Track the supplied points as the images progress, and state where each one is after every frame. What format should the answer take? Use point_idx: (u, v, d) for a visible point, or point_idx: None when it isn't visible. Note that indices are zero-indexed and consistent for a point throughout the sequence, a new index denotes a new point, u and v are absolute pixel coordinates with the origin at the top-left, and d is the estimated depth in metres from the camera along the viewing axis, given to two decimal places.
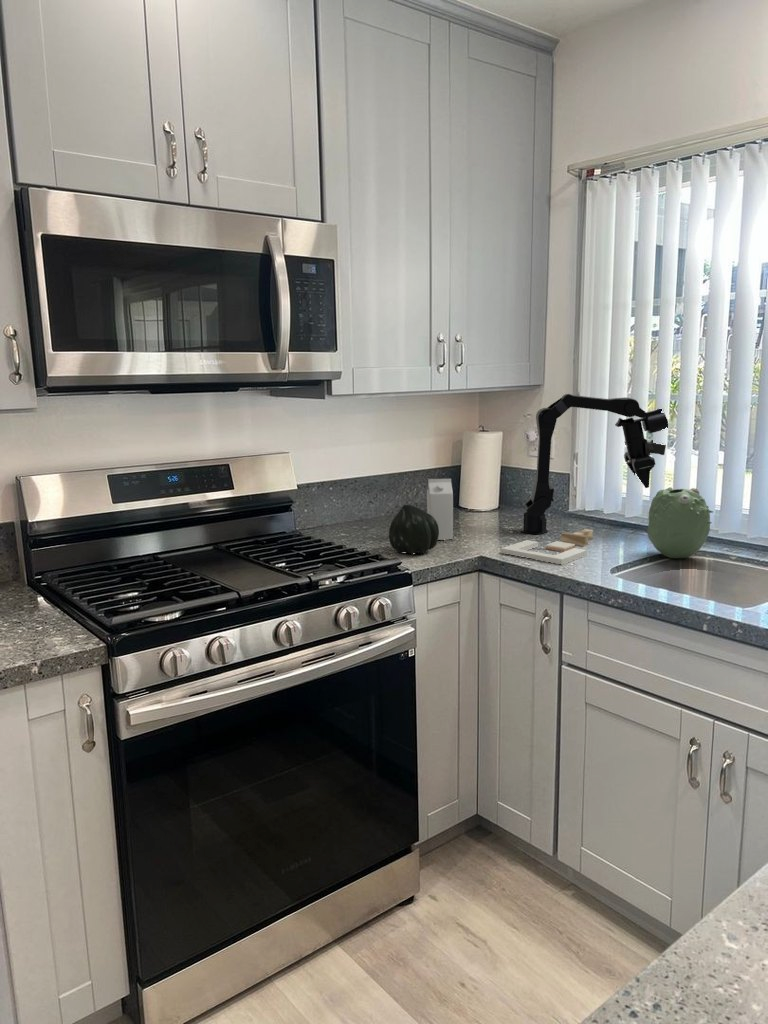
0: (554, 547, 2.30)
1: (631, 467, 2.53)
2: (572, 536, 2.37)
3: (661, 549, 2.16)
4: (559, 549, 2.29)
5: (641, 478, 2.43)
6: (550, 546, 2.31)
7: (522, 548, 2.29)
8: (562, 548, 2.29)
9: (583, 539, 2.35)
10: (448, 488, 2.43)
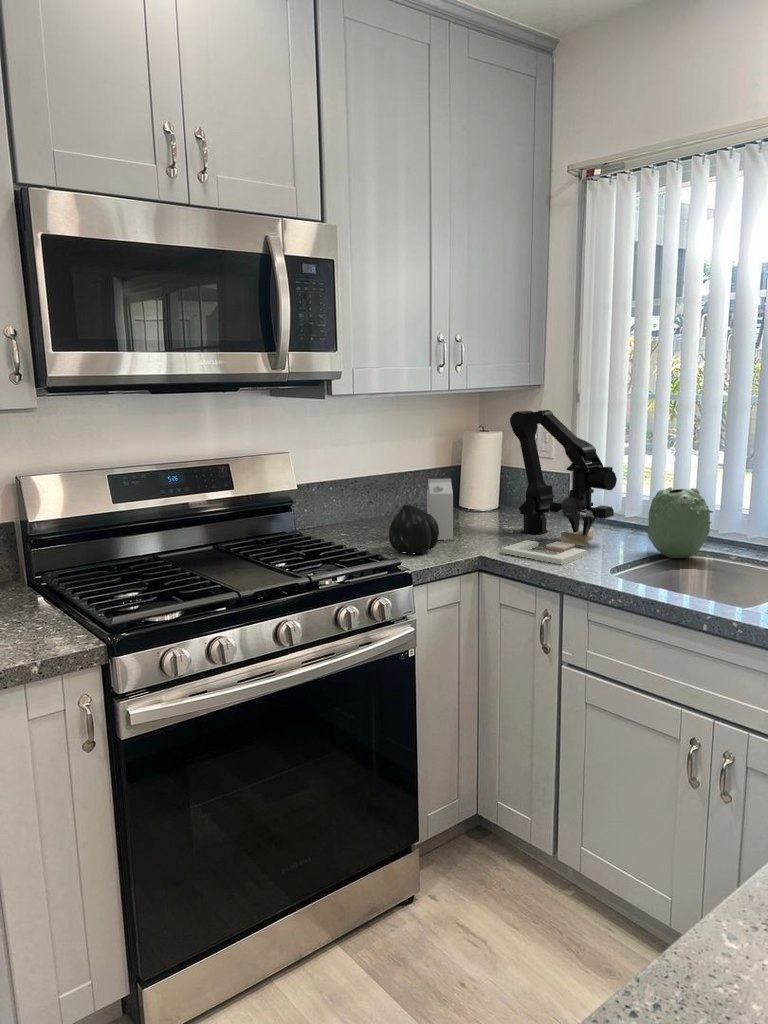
0: (554, 547, 2.30)
1: None
2: (572, 536, 2.37)
3: (661, 549, 2.16)
4: (559, 549, 2.29)
5: None
6: (550, 546, 2.31)
7: (522, 548, 2.29)
8: (562, 548, 2.29)
9: (583, 539, 2.35)
10: (448, 488, 2.43)
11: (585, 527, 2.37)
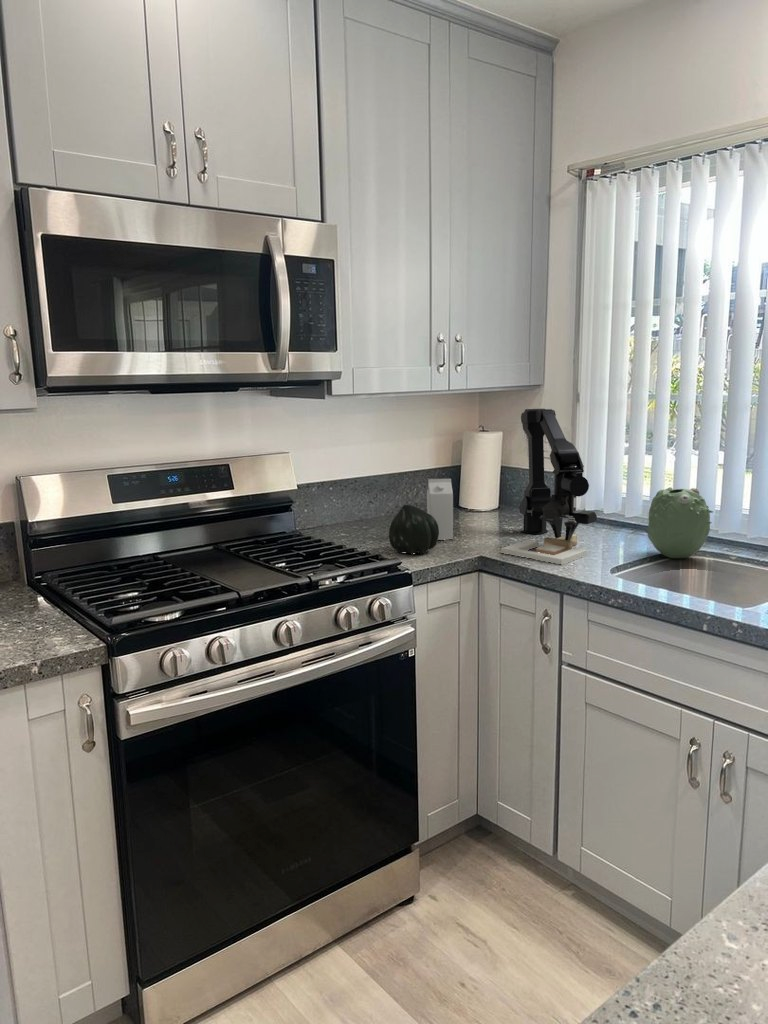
0: (544, 550, 2.26)
1: None
2: (555, 541, 2.30)
3: (661, 549, 2.16)
4: (549, 552, 2.25)
5: None
6: (540, 549, 2.27)
7: (522, 548, 2.29)
8: (552, 551, 2.24)
9: (567, 544, 2.28)
10: (448, 488, 2.43)
11: (567, 533, 2.30)
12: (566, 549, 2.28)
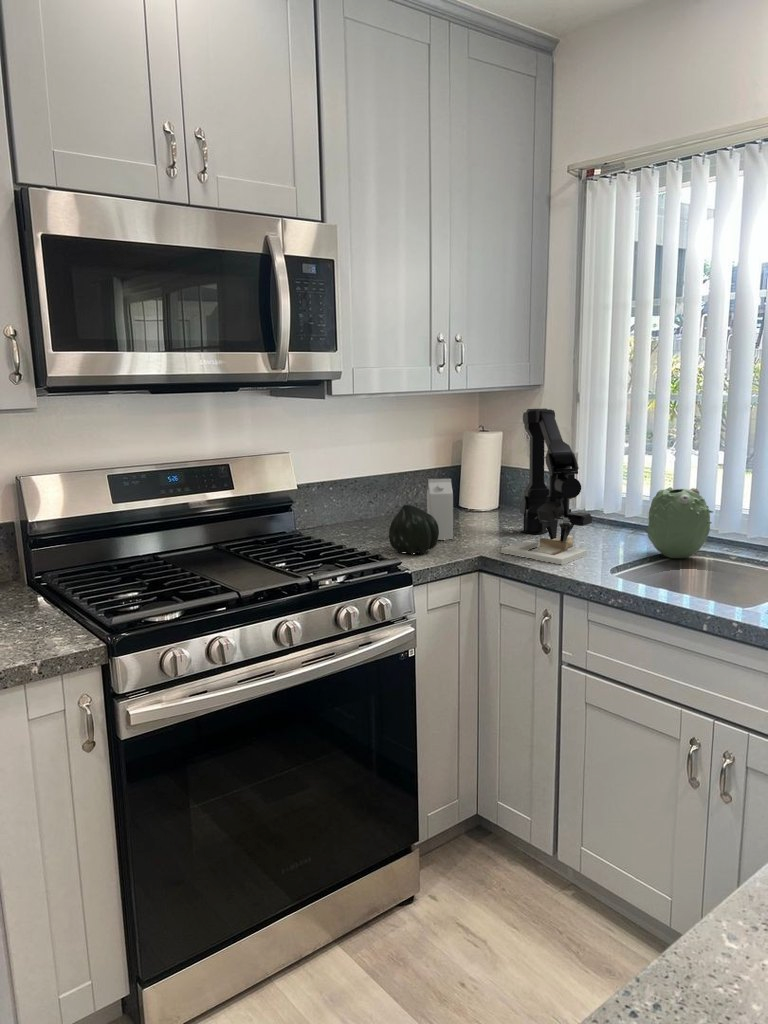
0: (540, 552, 2.25)
1: None
2: (551, 542, 2.29)
3: (661, 549, 2.16)
4: None
5: None
6: (536, 551, 2.26)
7: (522, 548, 2.29)
8: (548, 553, 2.23)
9: (562, 545, 2.26)
10: (448, 488, 2.43)
11: (562, 535, 2.28)
12: (562, 550, 2.27)
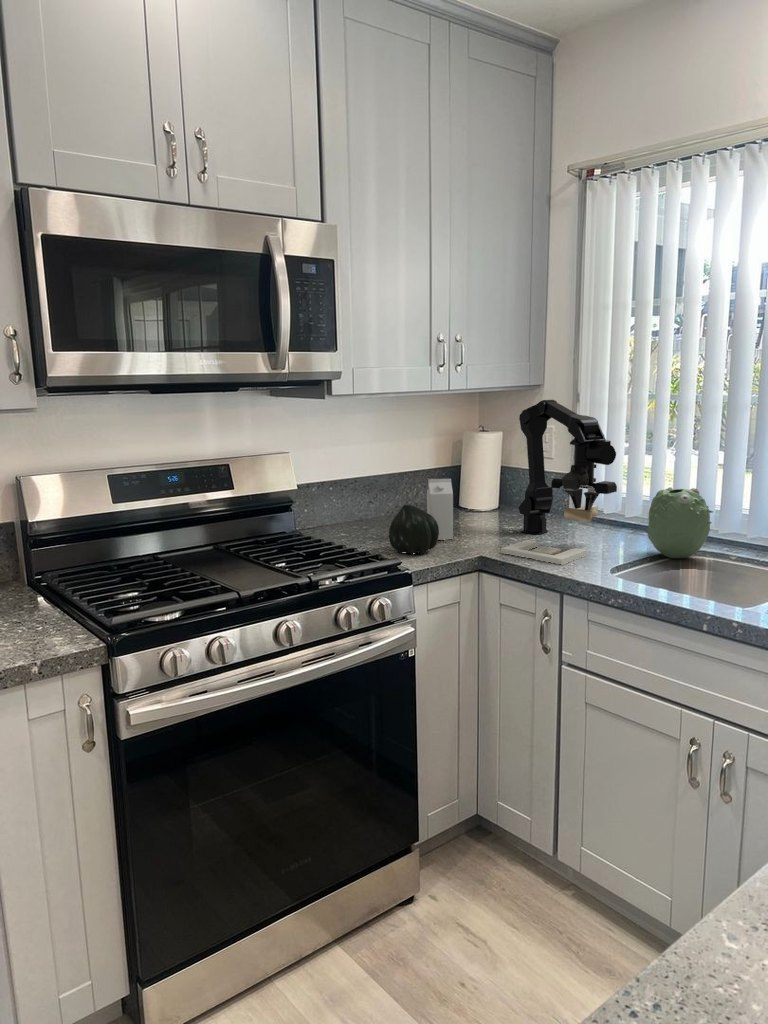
0: (540, 552, 2.25)
1: None
2: (575, 511, 2.29)
3: (661, 549, 2.16)
4: None
5: None
6: (536, 551, 2.26)
7: (522, 548, 2.29)
8: (548, 553, 2.23)
9: (587, 514, 2.27)
10: (448, 488, 2.43)
11: (587, 503, 2.29)
12: (586, 519, 2.27)
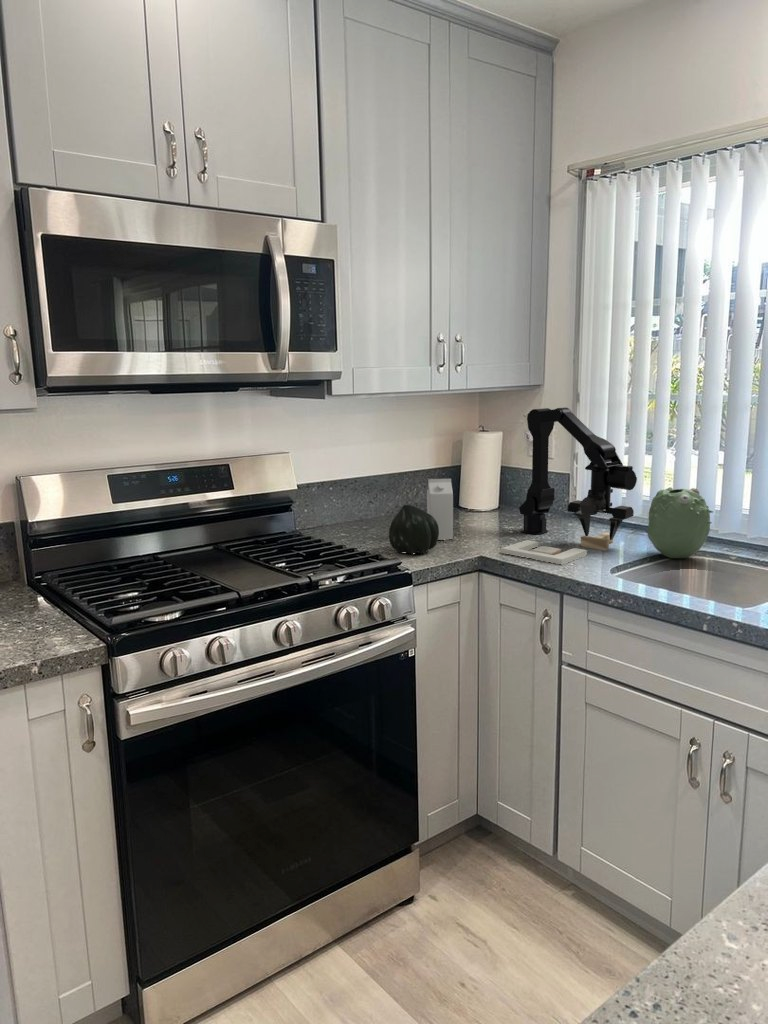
0: (540, 552, 2.25)
1: None
2: (592, 540, 2.32)
3: (661, 549, 2.16)
4: None
5: None
6: (536, 551, 2.25)
7: (522, 548, 2.29)
8: (548, 553, 2.23)
9: (604, 543, 2.30)
10: (448, 488, 2.43)
11: (612, 529, 2.30)
12: (603, 547, 2.30)
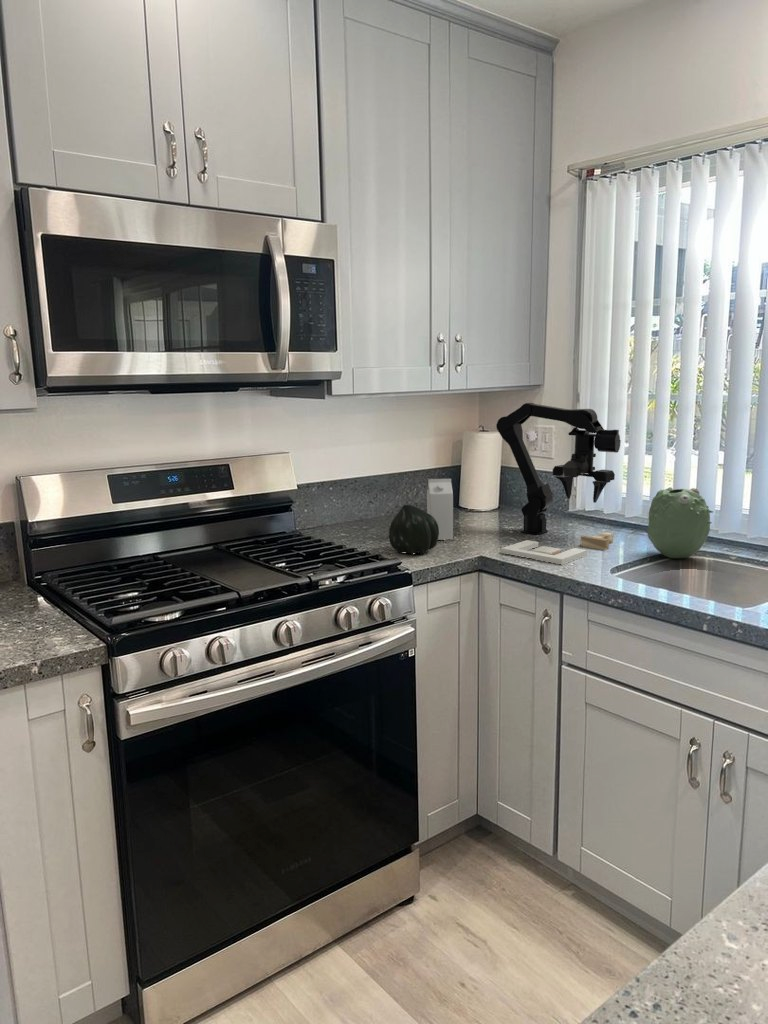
0: (540, 552, 2.25)
1: None
2: (592, 540, 2.32)
3: (661, 549, 2.16)
4: None
5: None
6: (536, 551, 2.25)
7: (522, 548, 2.29)
8: (548, 553, 2.23)
9: (604, 543, 2.30)
10: (448, 488, 2.43)
11: (595, 492, 2.39)
12: (603, 547, 2.30)
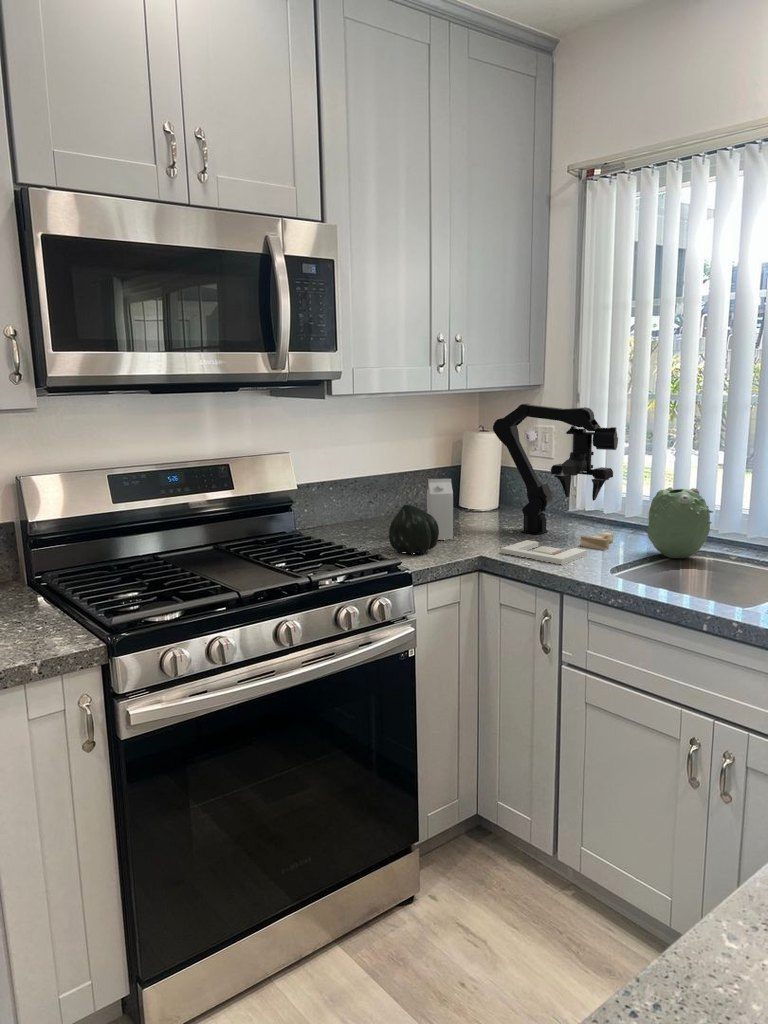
0: (540, 552, 2.25)
1: None
2: (592, 540, 2.32)
3: (661, 549, 2.16)
4: None
5: None
6: (536, 551, 2.25)
7: (522, 548, 2.29)
8: (548, 553, 2.23)
9: (604, 543, 2.30)
10: (448, 488, 2.43)
11: (594, 490, 2.41)
12: (603, 547, 2.30)
